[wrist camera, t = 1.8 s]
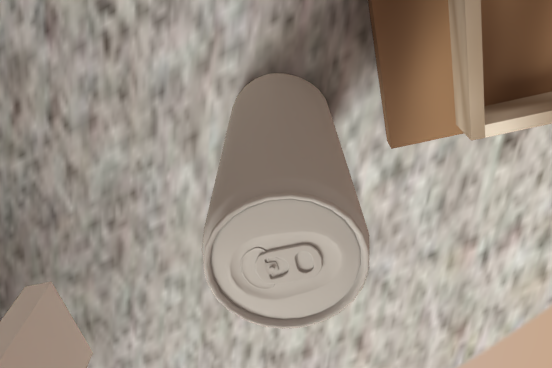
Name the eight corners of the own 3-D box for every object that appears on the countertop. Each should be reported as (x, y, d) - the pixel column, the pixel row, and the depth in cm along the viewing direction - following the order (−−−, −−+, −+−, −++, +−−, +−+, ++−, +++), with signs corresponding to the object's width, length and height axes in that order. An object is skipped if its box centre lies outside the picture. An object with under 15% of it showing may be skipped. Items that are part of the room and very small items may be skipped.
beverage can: (219, 81, 23) (173, 211, 12) (319, 57, 22) (361, 172, 12) (245, 169, 25) (225, 344, 14) (336, 150, 24) (385, 316, 14)
